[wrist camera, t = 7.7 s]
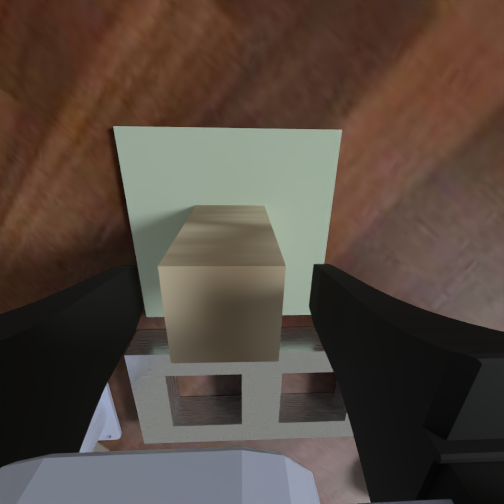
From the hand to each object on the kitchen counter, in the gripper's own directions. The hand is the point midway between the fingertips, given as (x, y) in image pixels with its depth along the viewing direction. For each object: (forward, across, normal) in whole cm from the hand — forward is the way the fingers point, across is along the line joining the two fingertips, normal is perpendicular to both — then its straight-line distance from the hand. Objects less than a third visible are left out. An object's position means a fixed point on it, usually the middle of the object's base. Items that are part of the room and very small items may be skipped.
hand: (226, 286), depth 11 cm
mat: (+6, 0, 0) cm, 7 cm away
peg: (+6, 0, 0) cm, 6 cm away
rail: (+6, -2, +12) cm, 14 cm away
